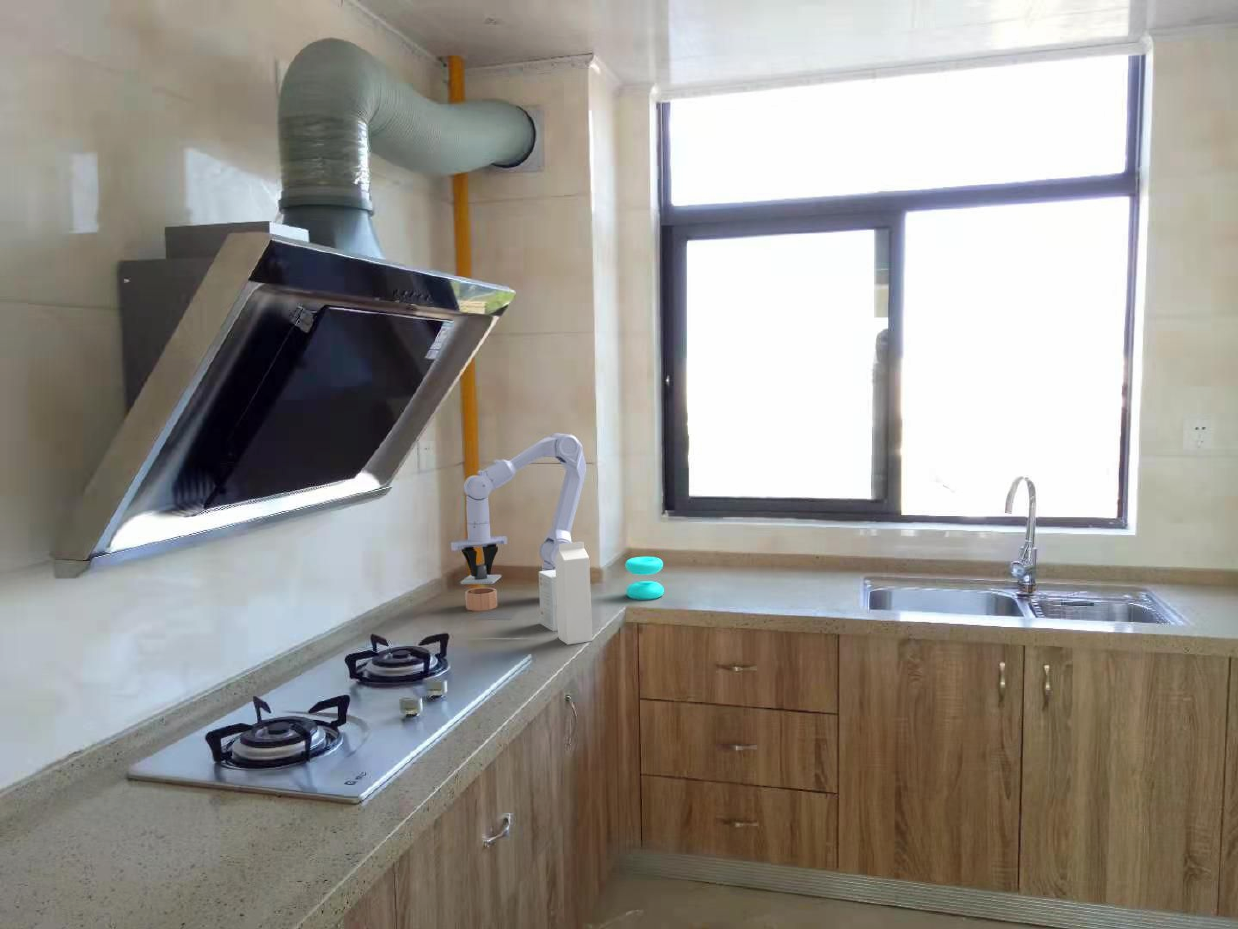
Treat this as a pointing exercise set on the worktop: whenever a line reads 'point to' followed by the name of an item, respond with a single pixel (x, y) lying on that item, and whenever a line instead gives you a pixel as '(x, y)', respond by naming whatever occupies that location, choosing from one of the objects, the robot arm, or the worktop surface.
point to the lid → (481, 576)
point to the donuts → (644, 588)
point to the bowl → (481, 599)
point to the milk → (573, 593)
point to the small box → (548, 599)
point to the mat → (497, 615)
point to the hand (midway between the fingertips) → (480, 575)
